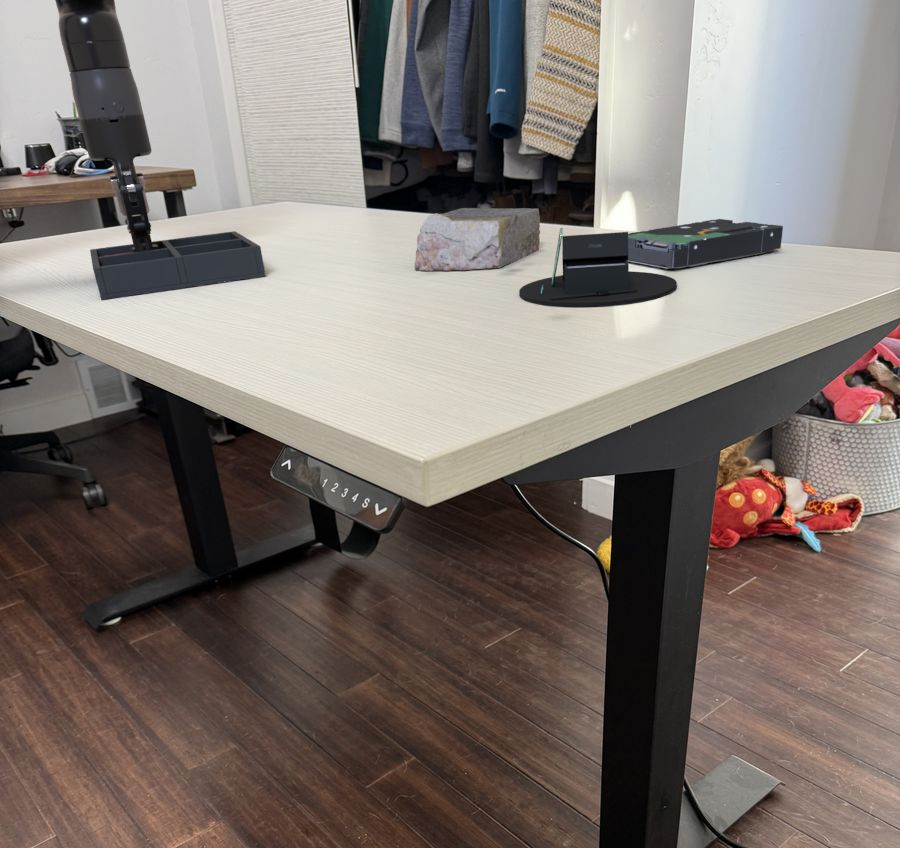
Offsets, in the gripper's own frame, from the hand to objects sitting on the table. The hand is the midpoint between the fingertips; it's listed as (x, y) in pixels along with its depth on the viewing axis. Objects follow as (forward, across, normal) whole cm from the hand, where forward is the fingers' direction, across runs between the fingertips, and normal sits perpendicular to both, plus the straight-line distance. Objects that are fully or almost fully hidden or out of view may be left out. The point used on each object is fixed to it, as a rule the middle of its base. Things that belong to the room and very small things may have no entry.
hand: (147, 264), depth 113 cm
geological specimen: (+2, +24, +37) cm, 44 cm away
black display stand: (+2, +50, +39) cm, 63 cm away
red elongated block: (0, 0, -1) cm, 1 cm away
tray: (+1, +4, +3) cm, 6 cm away
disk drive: (+2, +42, +56) cm, 70 cm away
